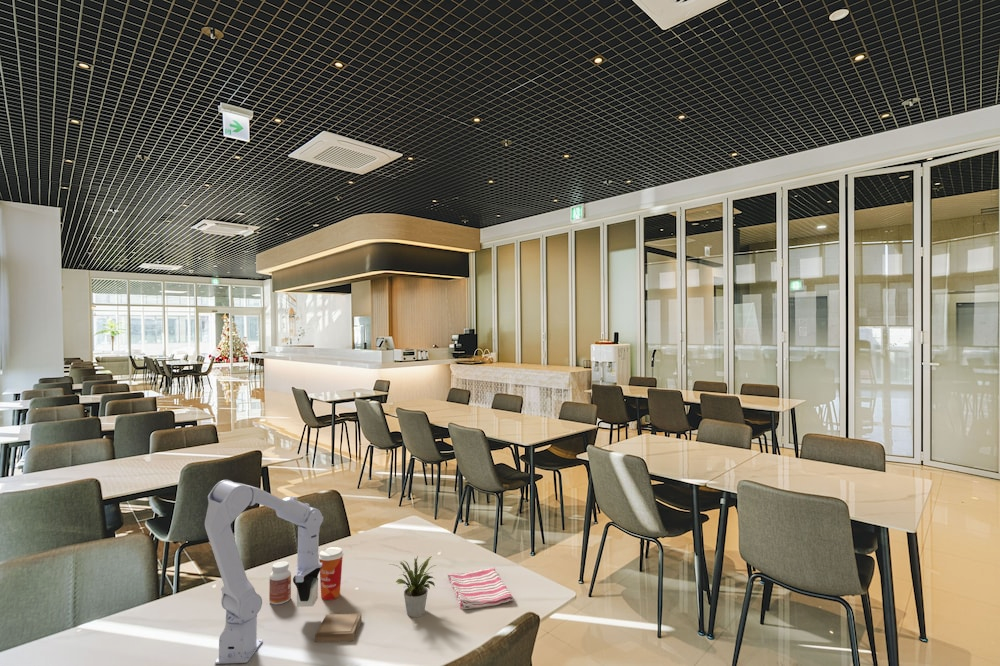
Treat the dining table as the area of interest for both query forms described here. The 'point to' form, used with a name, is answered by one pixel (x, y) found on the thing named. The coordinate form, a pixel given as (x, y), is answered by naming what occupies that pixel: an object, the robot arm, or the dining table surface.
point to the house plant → (416, 588)
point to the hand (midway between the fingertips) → (307, 596)
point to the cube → (312, 597)
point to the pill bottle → (280, 583)
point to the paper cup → (330, 572)
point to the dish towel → (479, 589)
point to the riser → (338, 627)
